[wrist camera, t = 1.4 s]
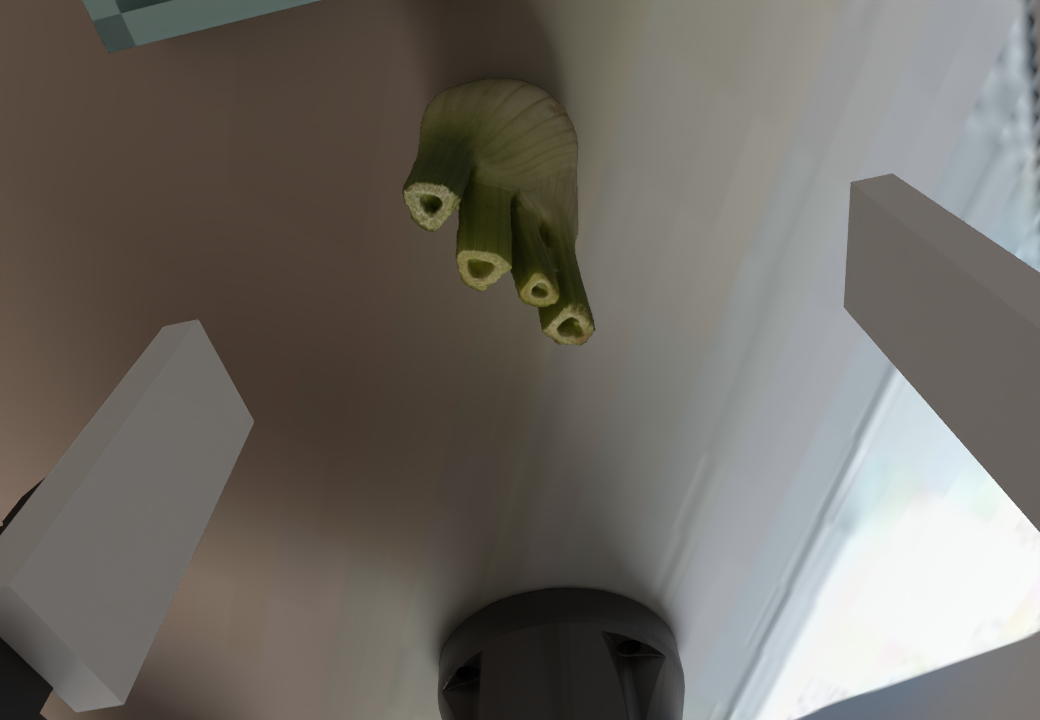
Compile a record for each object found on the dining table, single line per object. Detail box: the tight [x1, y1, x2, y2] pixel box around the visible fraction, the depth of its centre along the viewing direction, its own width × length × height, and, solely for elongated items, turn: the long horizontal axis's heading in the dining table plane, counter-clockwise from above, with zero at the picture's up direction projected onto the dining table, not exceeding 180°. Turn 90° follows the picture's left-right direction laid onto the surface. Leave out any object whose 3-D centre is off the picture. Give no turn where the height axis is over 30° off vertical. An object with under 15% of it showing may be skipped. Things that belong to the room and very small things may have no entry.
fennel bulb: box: [402, 78, 595, 345], centre depth 21 cm, size 6×5×12 cm
